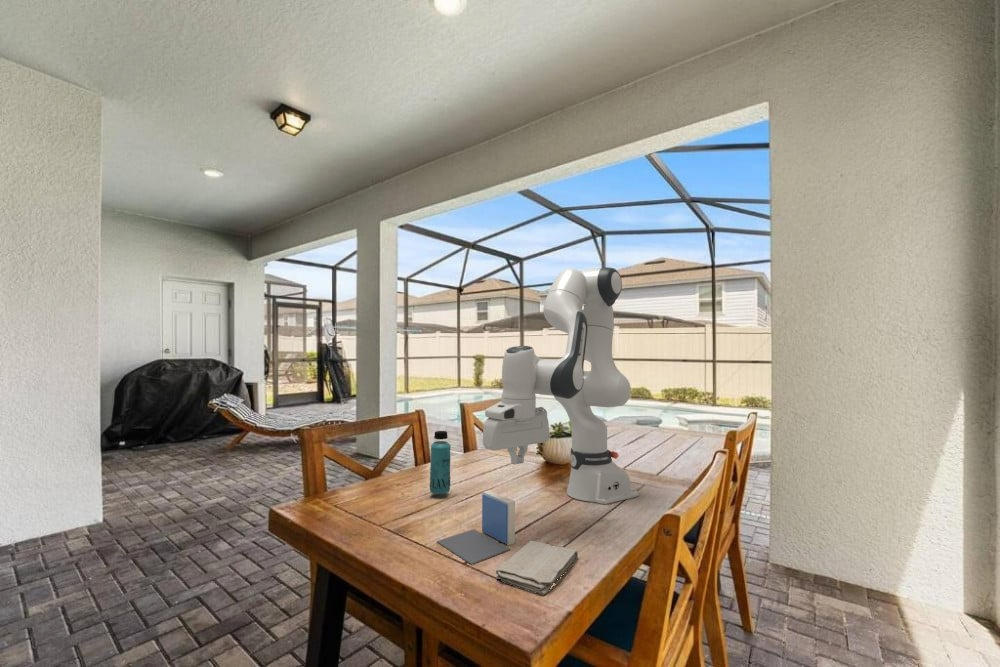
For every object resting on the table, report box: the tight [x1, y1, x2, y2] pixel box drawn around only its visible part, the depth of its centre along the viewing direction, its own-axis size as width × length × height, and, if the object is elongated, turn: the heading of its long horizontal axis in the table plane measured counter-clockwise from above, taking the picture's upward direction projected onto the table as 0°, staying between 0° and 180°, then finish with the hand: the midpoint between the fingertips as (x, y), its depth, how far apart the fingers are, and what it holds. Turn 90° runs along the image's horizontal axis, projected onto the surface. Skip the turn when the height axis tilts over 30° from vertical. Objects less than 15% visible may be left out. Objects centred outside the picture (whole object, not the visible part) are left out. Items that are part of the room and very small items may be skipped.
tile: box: [481, 490, 516, 546], centre depth 109 cm, size 2×10×10 cm, turn 40°
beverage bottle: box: [429, 430, 451, 495], centre depth 139 cm, size 6×7×20 cm
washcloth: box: [495, 540, 579, 596], centre depth 94 cm, size 12×18×3 cm, turn 151°
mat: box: [436, 528, 511, 566], centre depth 104 cm, size 11×14×1 cm
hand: (517, 463), depth 114 cm, fingers closed
